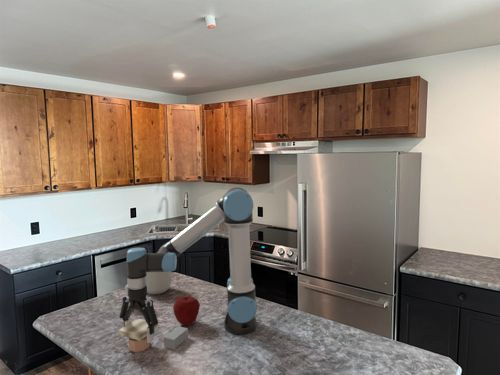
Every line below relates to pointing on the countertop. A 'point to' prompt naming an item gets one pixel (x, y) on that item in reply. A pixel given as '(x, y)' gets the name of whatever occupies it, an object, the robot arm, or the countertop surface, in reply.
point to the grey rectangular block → (175, 337)
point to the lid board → (135, 329)
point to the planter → (158, 282)
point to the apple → (186, 310)
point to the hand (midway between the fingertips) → (139, 338)
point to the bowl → (138, 344)
